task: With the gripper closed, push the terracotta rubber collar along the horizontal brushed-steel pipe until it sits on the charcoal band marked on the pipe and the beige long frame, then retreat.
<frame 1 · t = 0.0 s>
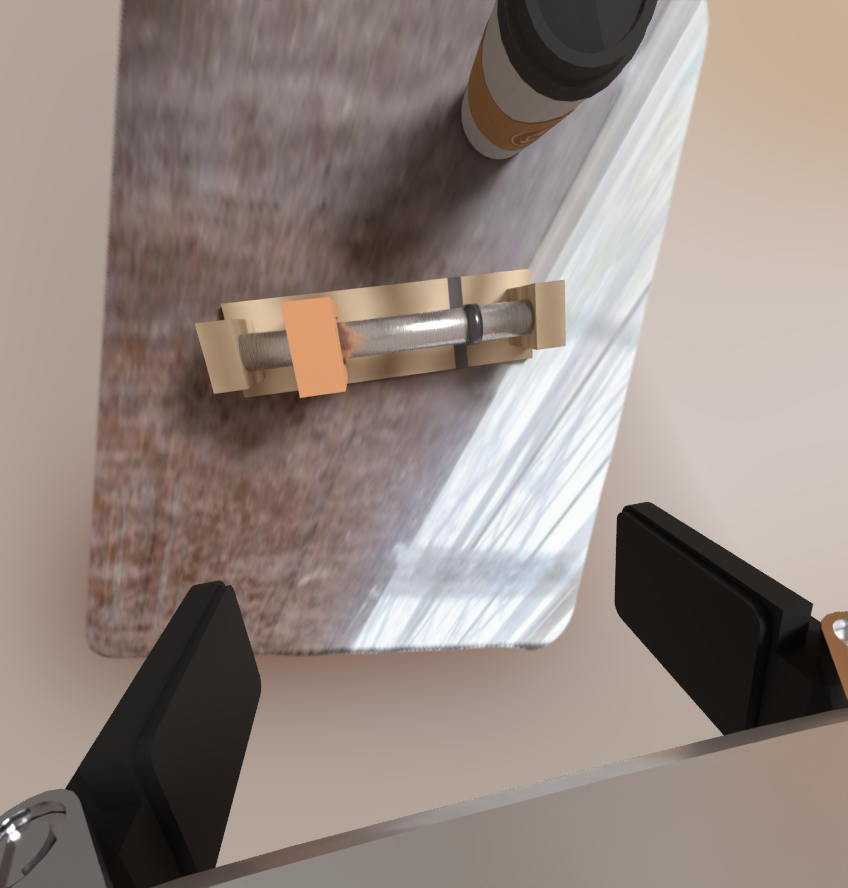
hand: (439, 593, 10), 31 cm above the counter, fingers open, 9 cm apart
coffee cup: (496, 119, 35), on the counter
pipe: (391, 334, 33), point 6 cm above the counter
beige long frame: (387, 332, 38), on the counter
collar: (320, 344, 31), point 7 cm above the counter, slide at 0.0 cm
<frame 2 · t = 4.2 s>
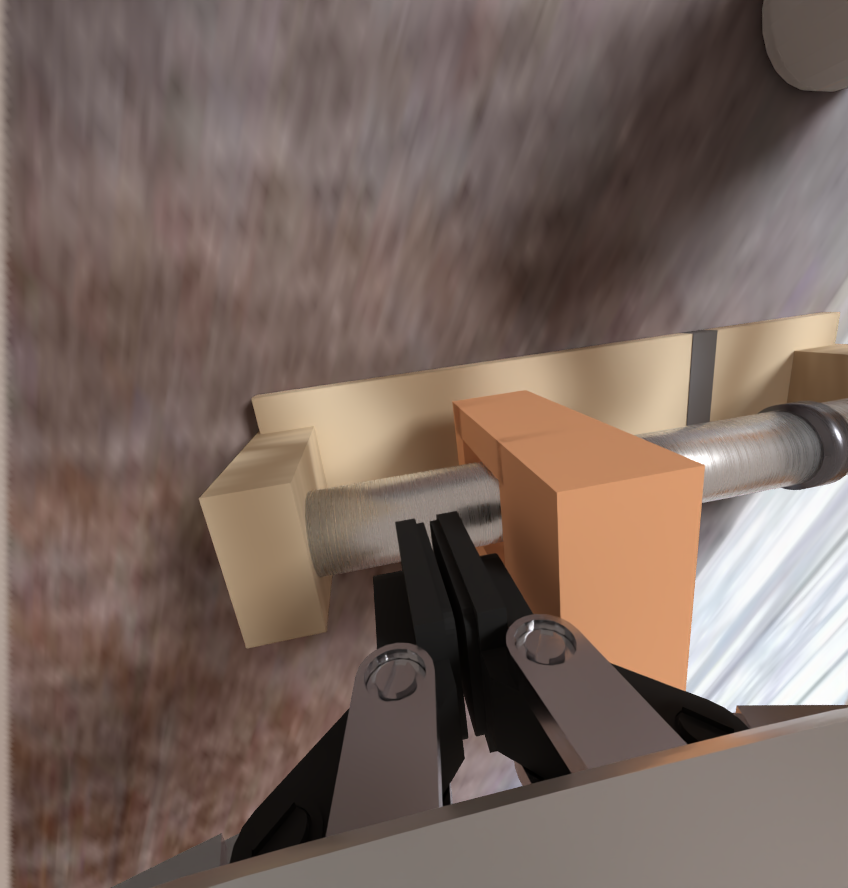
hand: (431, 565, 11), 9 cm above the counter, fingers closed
coffee cup: (822, 7, 17), on the counter
pipe: (634, 474, 15), point 6 cm above the counter
beige long frame: (562, 434, 20), on the counter
collar: (539, 514, 13), point 7 cm above the counter, slide at 1.3 cm, touching gripper
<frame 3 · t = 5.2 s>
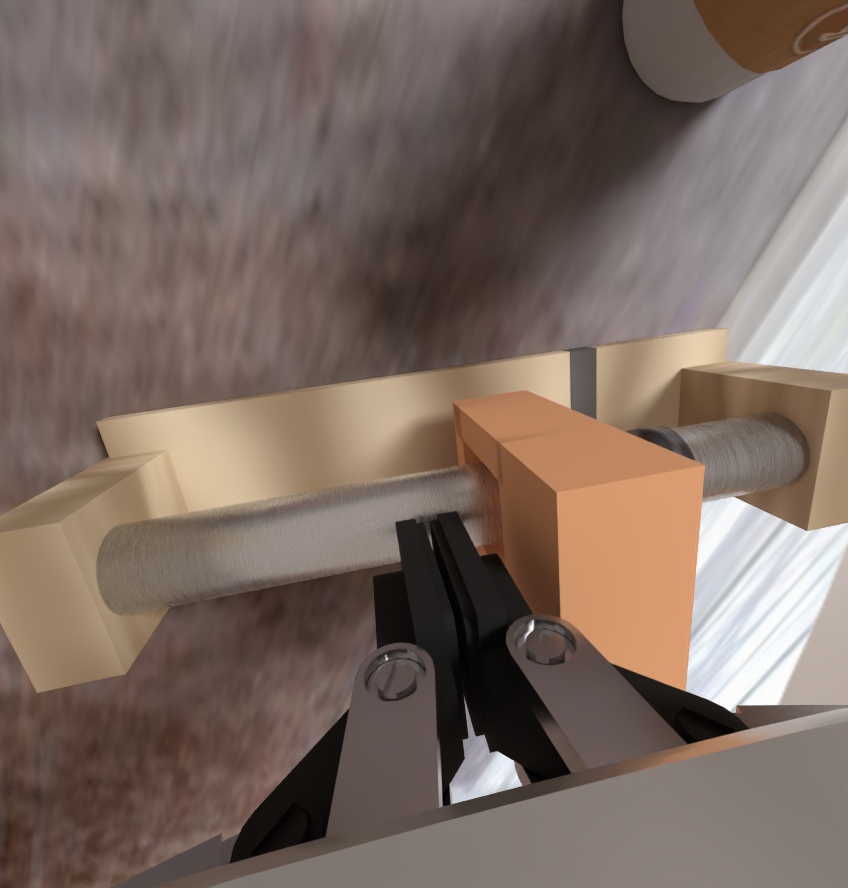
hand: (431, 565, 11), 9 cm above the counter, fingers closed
coffee cup: (688, 14, 16), on the counter
pipe: (476, 504, 14), point 6 cm above the counter
beige long frame: (444, 454, 19), on the counter
collar: (539, 514, 13), point 7 cm above the counter, slide at 7.1 cm, touching gripper
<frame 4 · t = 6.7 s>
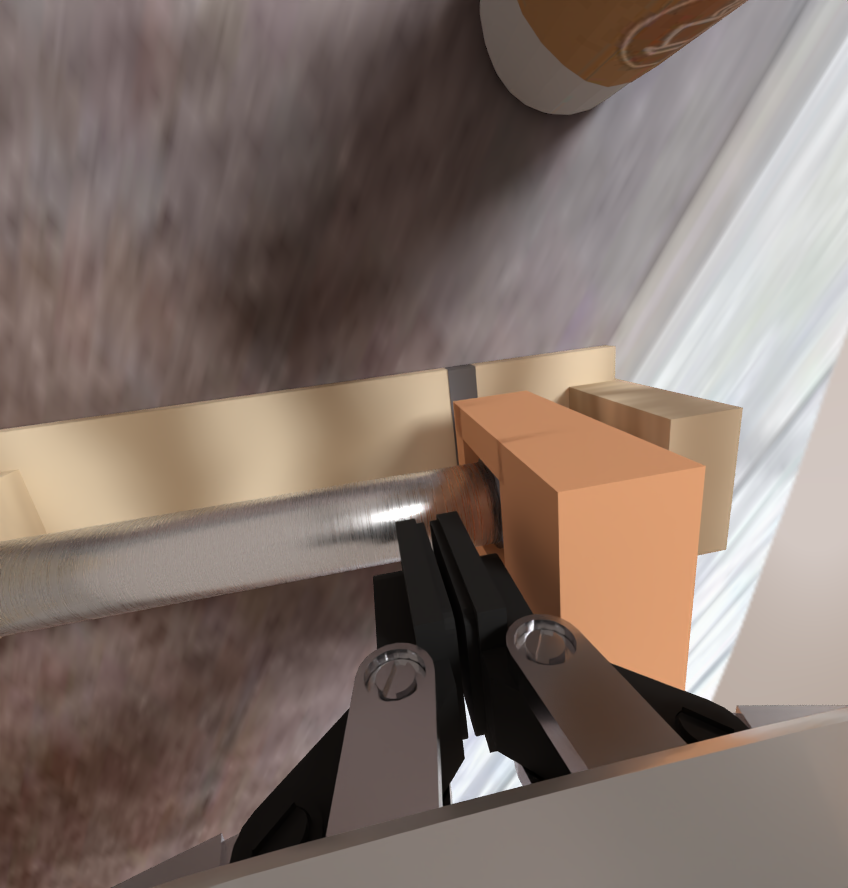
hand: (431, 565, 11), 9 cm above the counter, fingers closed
coffee cup: (556, 23, 15), on the counter
pipe: (313, 532, 14), point 6 cm above the counter
beige long frame: (325, 473, 19), on the counter
collar: (539, 515, 13), point 7 cm above the counter, slide at 12.7 cm, touching gripper
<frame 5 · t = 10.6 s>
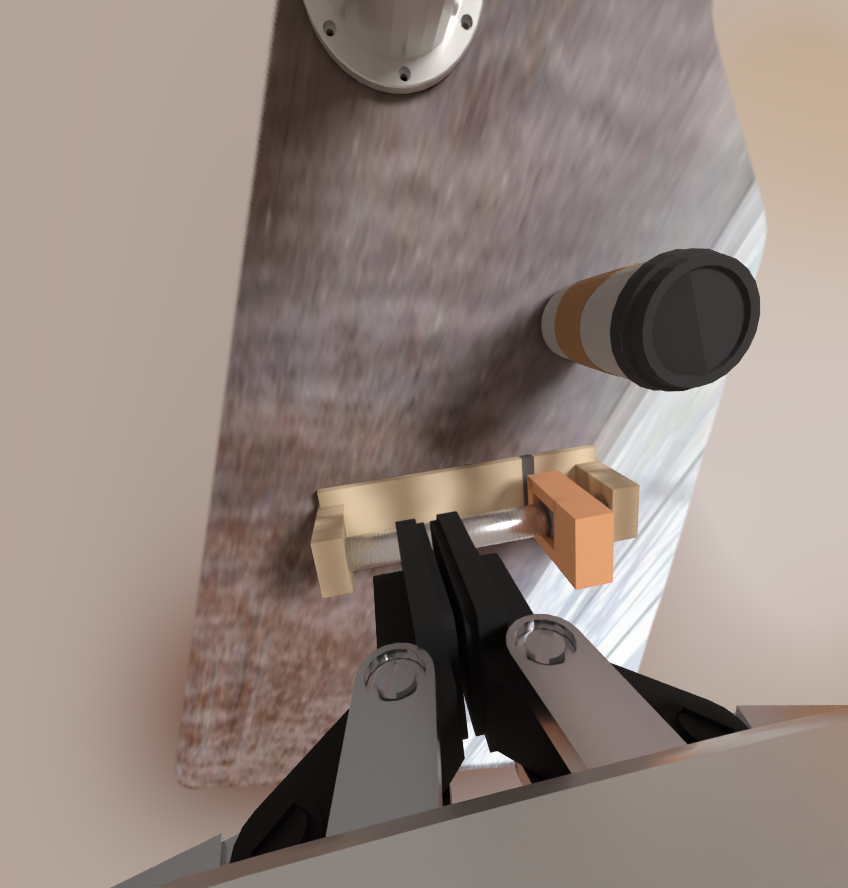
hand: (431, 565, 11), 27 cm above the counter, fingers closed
coffee cup: (570, 321, 38), on the counter
pipe: (478, 530, 36), point 6 cm above the counter
beige long frame: (463, 503, 41), on the counter
collar: (565, 523, 35), point 7 cm above the counter, slide at 12.7 cm
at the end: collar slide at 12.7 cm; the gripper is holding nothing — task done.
